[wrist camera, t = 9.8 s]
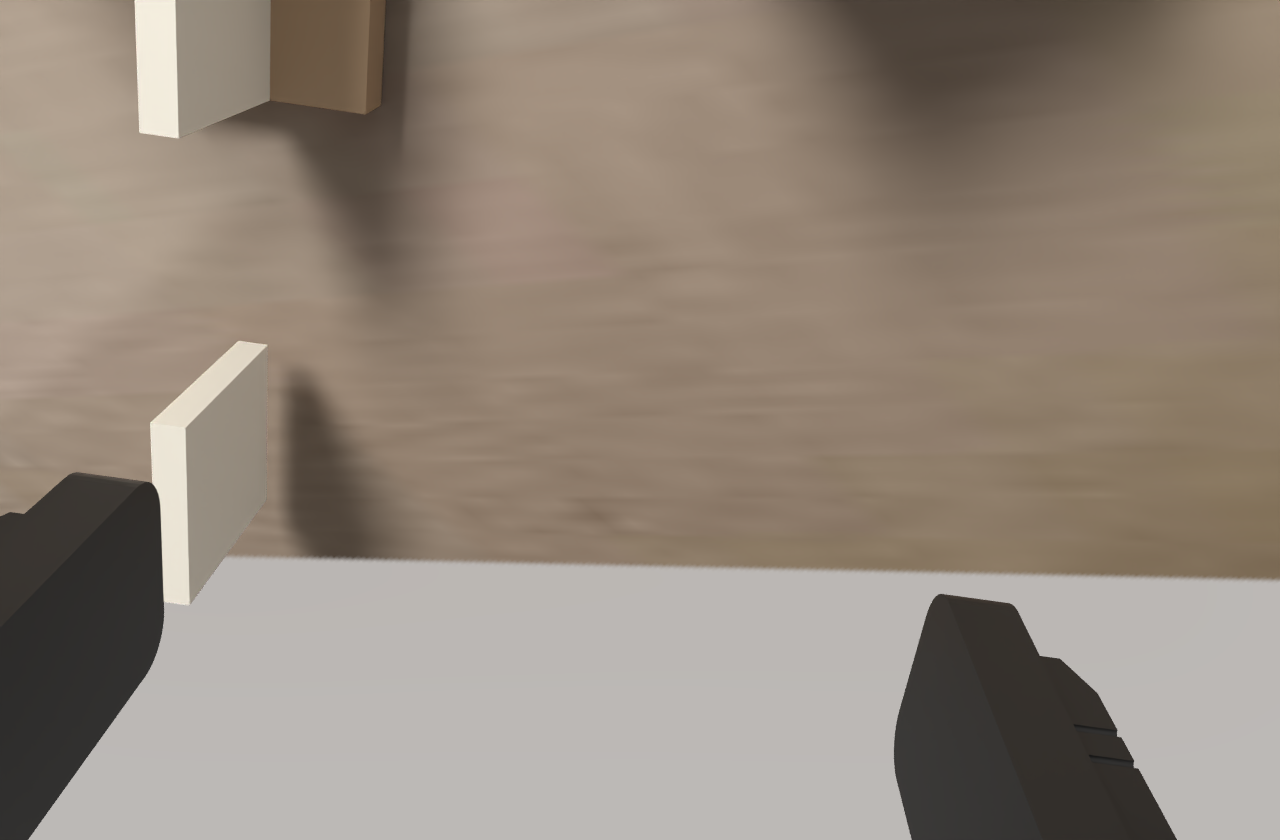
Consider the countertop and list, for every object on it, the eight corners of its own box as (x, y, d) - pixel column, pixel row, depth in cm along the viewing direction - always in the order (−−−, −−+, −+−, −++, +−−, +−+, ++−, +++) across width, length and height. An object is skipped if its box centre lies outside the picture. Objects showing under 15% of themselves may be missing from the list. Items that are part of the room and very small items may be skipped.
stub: (235, 340, 39) (146, 422, 32) (267, 344, 39) (185, 427, 32) (236, 495, 41) (153, 600, 35) (266, 499, 41) (189, 605, 35)
